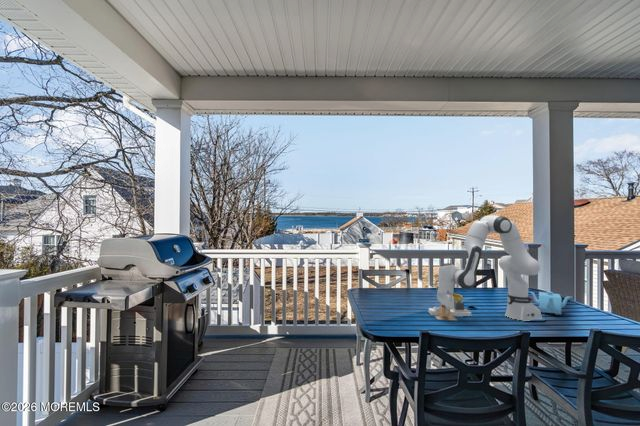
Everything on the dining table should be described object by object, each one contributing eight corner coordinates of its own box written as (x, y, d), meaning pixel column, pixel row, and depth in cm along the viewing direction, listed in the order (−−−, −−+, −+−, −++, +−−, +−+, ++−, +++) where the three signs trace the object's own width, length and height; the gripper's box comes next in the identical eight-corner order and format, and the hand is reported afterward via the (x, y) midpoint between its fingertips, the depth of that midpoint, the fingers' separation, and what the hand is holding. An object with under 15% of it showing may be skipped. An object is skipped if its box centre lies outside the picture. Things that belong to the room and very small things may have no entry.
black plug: (461, 310, 218) (462, 298, 218) (464, 311, 214) (464, 300, 214) (454, 310, 218) (454, 298, 218) (456, 311, 214) (456, 299, 215)
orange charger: (448, 314, 209) (448, 302, 209) (450, 316, 205) (450, 304, 205) (439, 314, 209) (440, 302, 209) (441, 316, 205) (442, 303, 205)
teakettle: (527, 306, 243) (527, 286, 243) (570, 312, 230) (570, 291, 231) (528, 314, 222) (528, 292, 222) (575, 321, 209) (575, 298, 209)
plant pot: (463, 312, 223) (464, 297, 223) (447, 310, 225) (447, 296, 225) (460, 308, 233) (460, 294, 233) (444, 306, 235) (445, 292, 235)
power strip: (466, 313, 219) (467, 308, 219) (471, 316, 212) (471, 310, 212) (428, 312, 220) (428, 306, 220) (431, 315, 213) (431, 309, 213)
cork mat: (453, 317, 210) (453, 316, 210) (457, 320, 203) (457, 319, 203) (434, 316, 211) (434, 315, 211) (437, 319, 204) (437, 318, 204)
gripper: (457, 293, 197) (456, 317, 197) (445, 286, 217) (444, 307, 217) (446, 293, 197) (445, 316, 197) (435, 286, 217) (435, 307, 217)
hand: (445, 312), depth 207 cm, fingers closed on orange charger, 4 cm apart
